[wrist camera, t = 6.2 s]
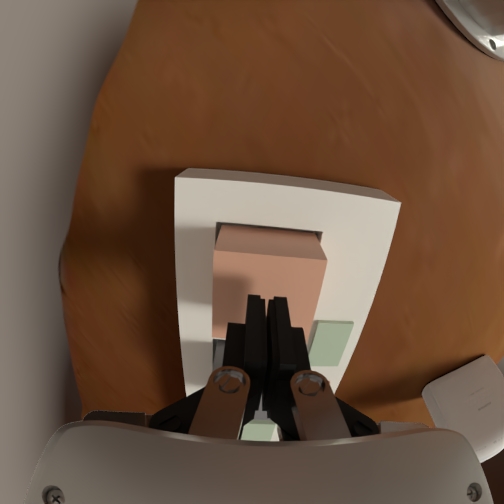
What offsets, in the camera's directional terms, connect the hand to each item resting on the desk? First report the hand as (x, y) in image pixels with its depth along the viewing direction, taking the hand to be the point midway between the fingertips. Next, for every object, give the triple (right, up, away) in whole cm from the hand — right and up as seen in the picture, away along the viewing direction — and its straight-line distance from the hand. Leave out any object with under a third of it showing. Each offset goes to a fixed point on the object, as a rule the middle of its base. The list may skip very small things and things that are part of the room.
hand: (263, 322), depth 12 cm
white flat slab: (+1, -4, +10) cm, 11 cm away
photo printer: (+24, -12, +13) cm, 30 cm away
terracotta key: (0, +2, +4) cm, 5 cm away
